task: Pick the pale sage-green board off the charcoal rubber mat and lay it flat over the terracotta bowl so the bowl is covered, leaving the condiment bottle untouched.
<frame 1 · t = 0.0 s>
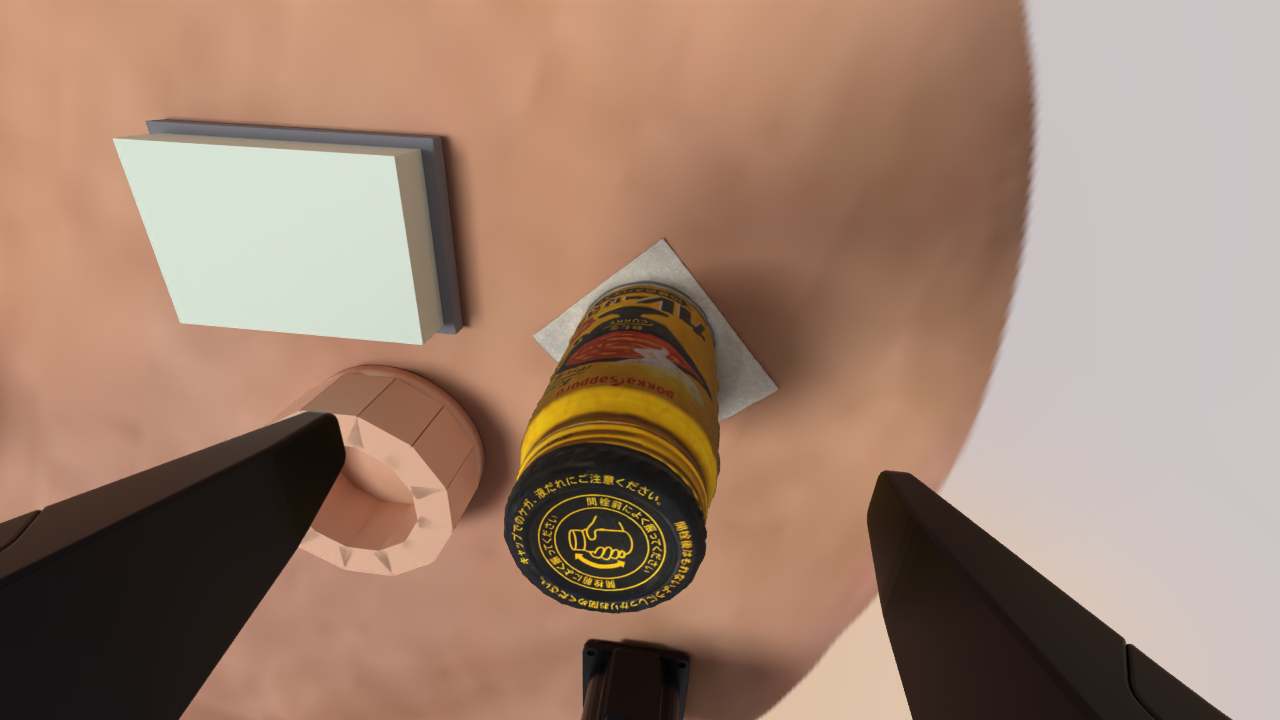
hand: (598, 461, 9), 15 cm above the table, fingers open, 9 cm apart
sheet: (310, 234, 23), point 1 cm above the table, touching mat
condiment: (656, 358, 25), on the table
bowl: (396, 444, 29), on the table
mat: (322, 229, 24), on the table
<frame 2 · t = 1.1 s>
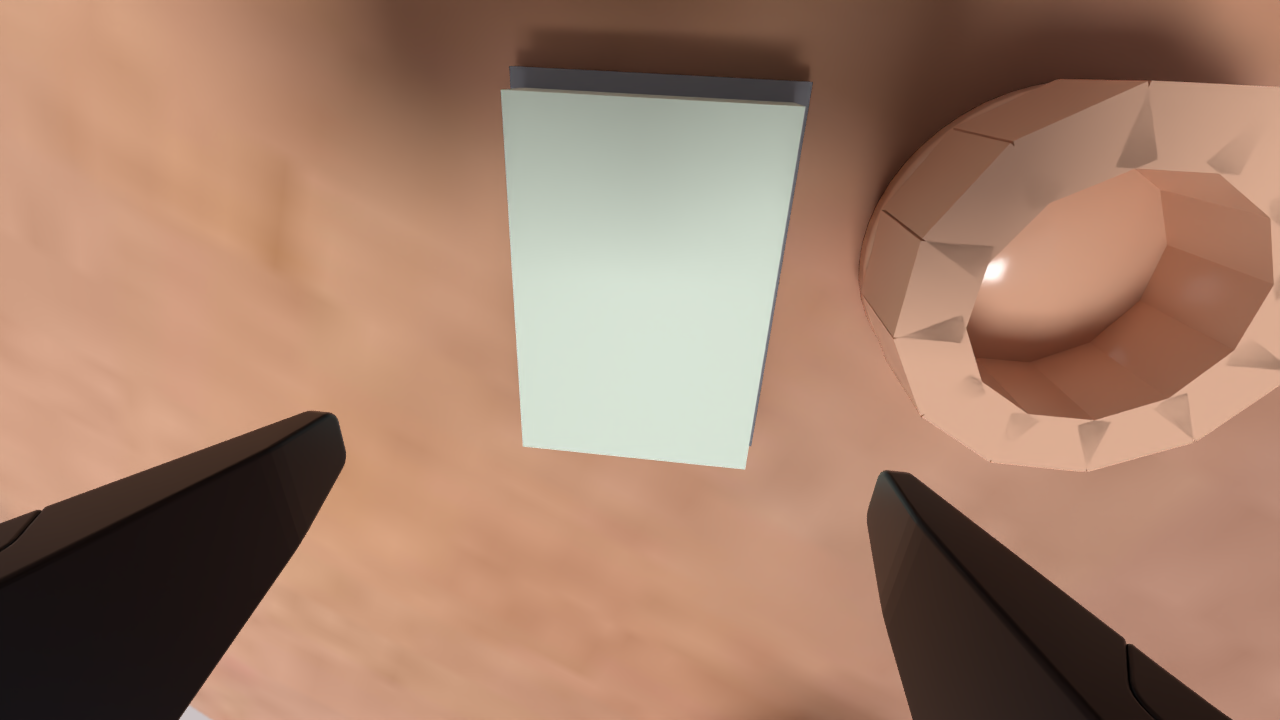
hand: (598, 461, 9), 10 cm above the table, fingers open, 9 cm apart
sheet: (646, 282, 17), point 1 cm above the table, touching mat
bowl: (1021, 254, 16), on the table
mat: (649, 273, 18), on the table
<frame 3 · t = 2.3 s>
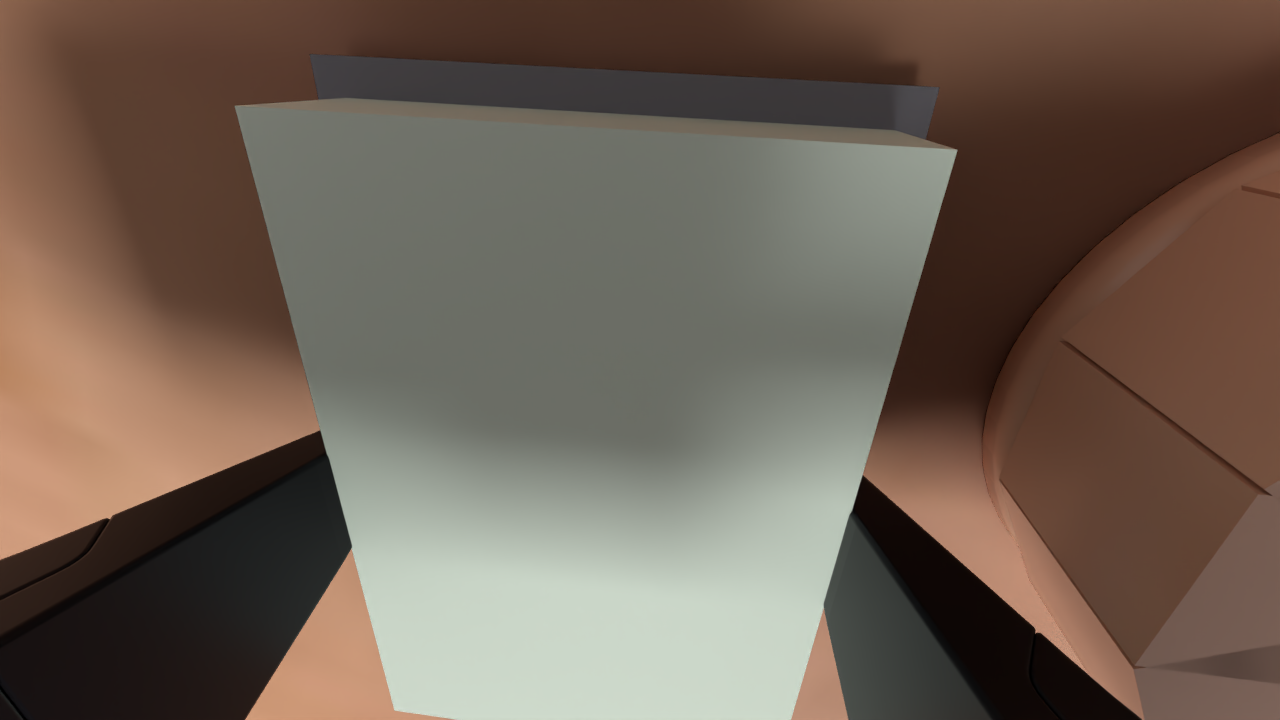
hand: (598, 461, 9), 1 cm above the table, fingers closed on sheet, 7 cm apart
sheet: (603, 443, 10), point 1 cm above the table, touching gripper, mat
mat: (610, 417, 10), on the table
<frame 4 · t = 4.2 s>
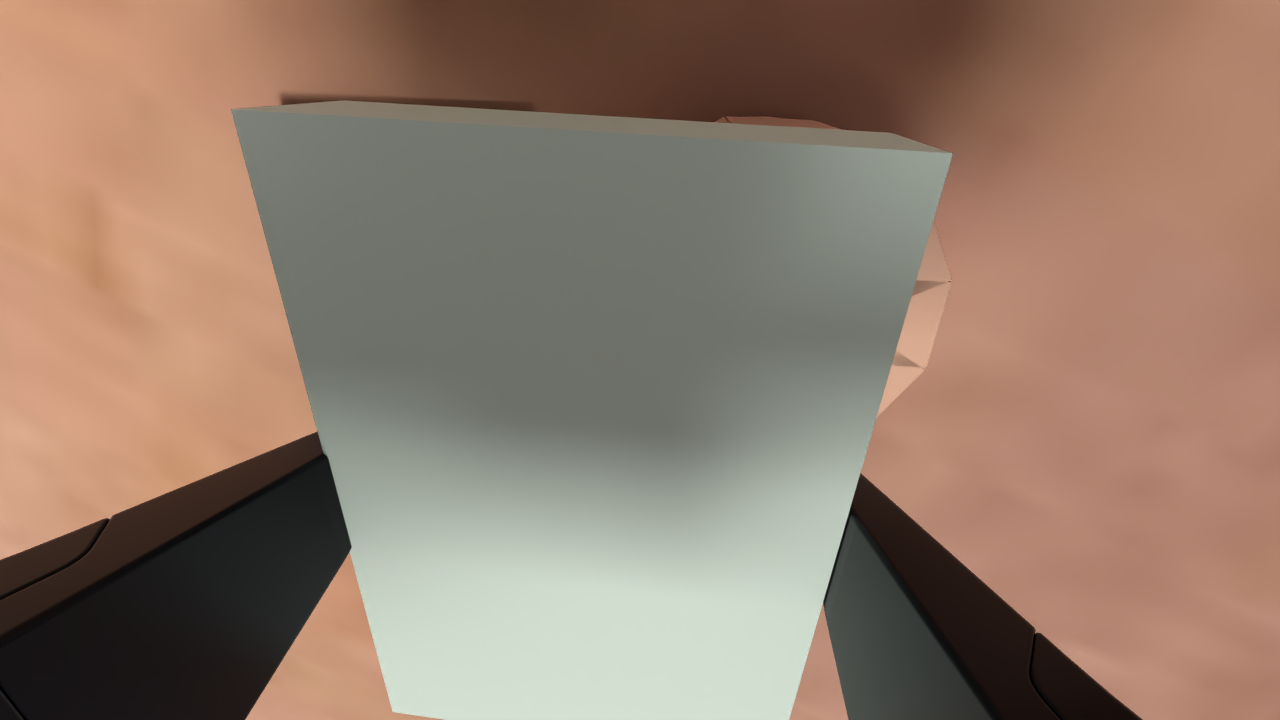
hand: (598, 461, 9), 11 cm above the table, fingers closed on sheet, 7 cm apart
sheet: (601, 444, 10), point 10 cm above the table, touching gripper
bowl: (746, 267, 18), on the table
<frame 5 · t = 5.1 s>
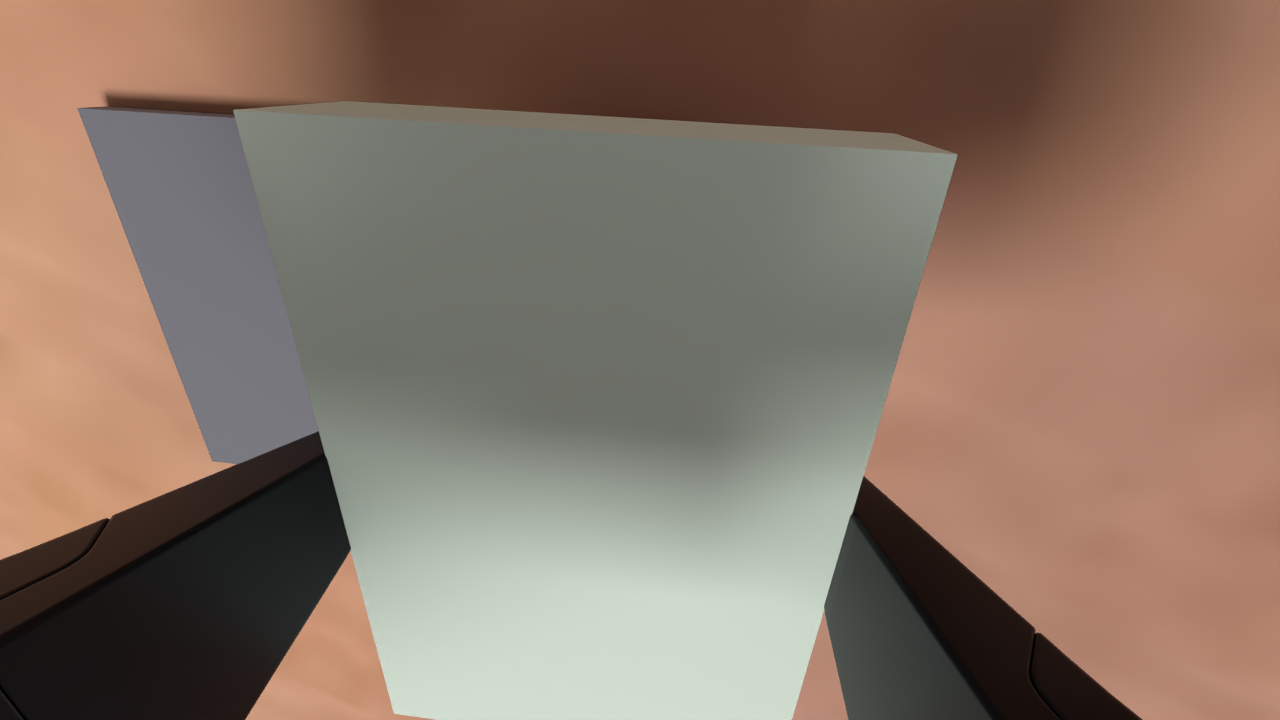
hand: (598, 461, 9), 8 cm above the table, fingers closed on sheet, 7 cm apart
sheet: (603, 445, 10), point 7 cm above the table, touching gripper
mat: (294, 312, 18), on the table
when the fingers open (6 cm above the table, at t = 6.0 s): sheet drops 1 cm, resting on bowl.
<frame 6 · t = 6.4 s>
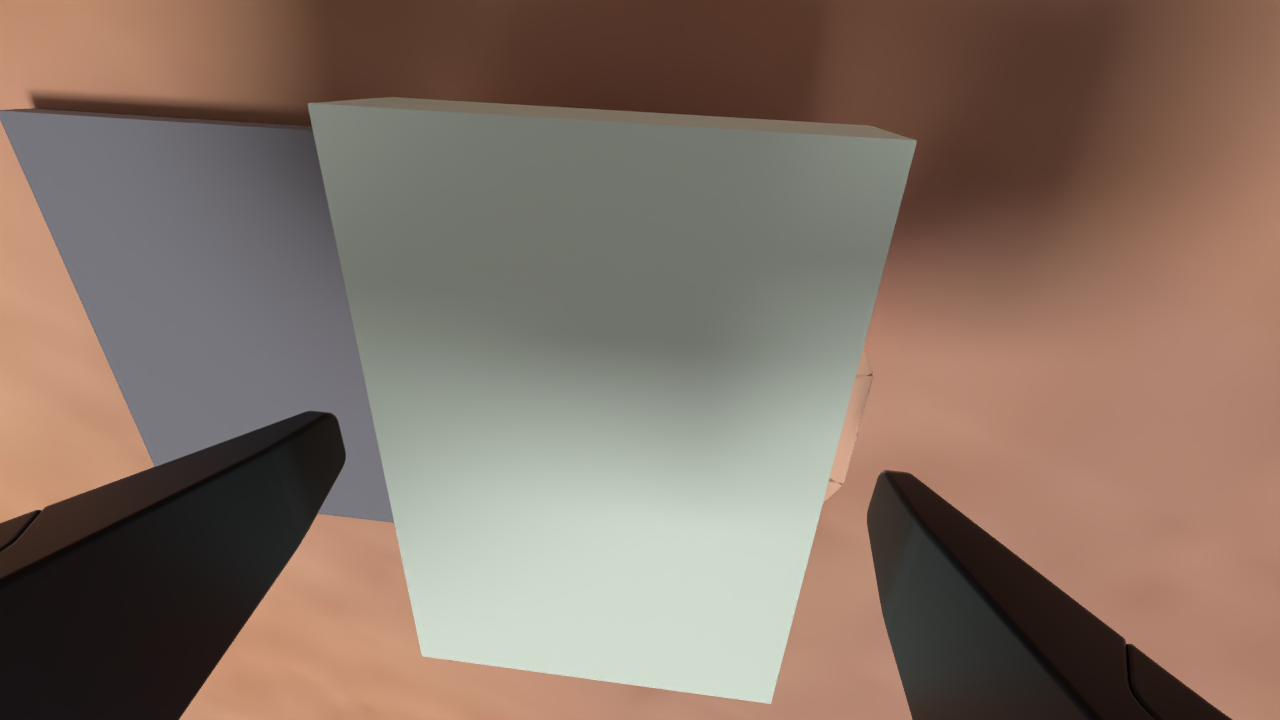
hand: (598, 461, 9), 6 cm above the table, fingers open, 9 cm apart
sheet: (613, 409, 11), point 4 cm above the table, touching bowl
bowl: (637, 321, 14), on the table
mat: (252, 336, 16), on the table
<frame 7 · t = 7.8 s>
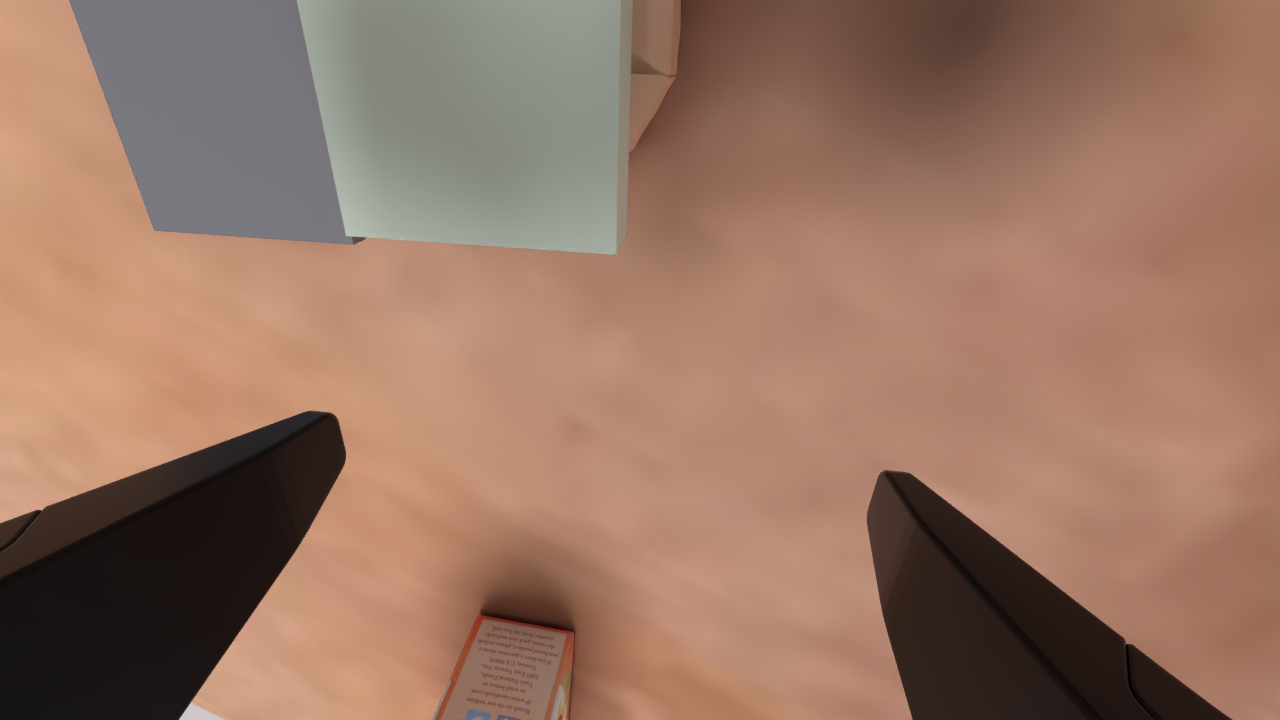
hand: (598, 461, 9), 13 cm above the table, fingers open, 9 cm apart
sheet: (487, 13, 14), point 4 cm above the table, touching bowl
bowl: (534, 25, 17), on the table
cracker box: (524, 690, 34), on the table
mat: (221, 65, 19), on the table
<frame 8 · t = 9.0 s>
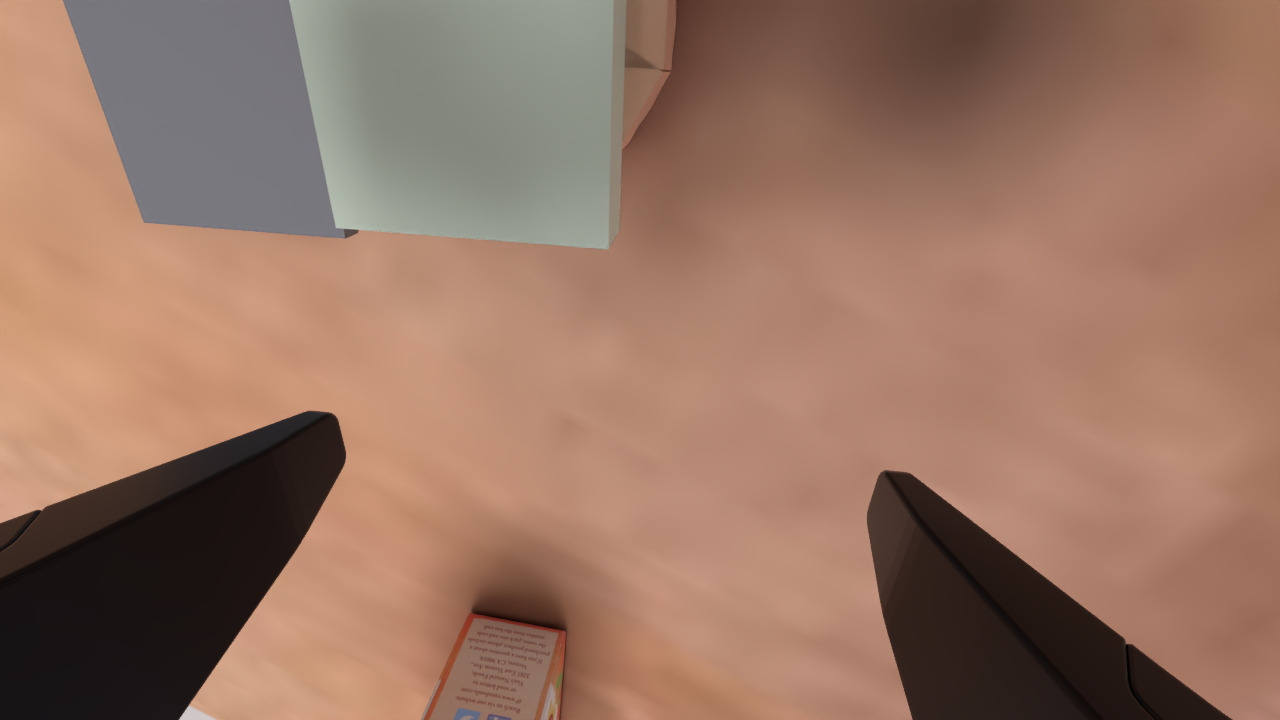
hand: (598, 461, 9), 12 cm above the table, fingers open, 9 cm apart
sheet: (480, 5, 14), point 4 cm above the table, touching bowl
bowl: (528, 18, 17), on the table
cracker box: (515, 689, 34), on the table
mat: (212, 55, 19), on the table
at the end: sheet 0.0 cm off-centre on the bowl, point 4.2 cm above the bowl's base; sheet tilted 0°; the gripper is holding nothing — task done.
